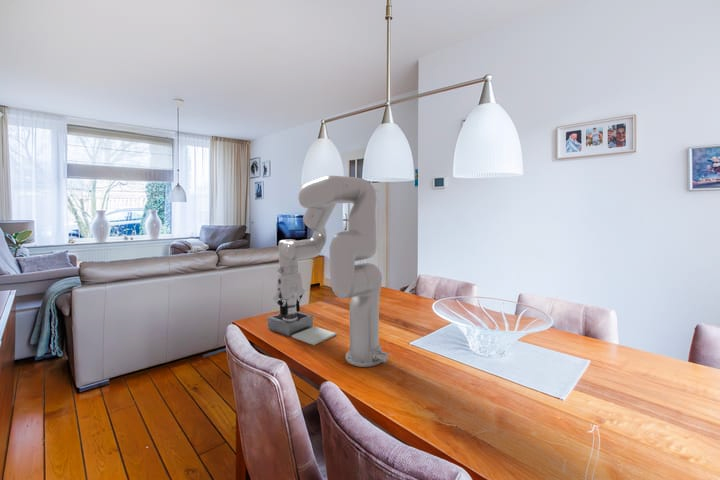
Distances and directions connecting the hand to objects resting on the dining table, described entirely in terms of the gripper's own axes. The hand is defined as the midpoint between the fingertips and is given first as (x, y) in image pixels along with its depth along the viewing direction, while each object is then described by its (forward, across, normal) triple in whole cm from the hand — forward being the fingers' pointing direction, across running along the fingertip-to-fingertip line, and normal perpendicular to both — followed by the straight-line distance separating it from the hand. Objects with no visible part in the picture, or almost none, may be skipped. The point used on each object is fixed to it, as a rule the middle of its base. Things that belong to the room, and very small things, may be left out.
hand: (290, 312), depth 137 cm
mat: (+7, 0, -14) cm, 15 cm away
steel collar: (+7, 0, 0) cm, 7 cm away
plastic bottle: (+7, 0, 0) cm, 7 cm away
